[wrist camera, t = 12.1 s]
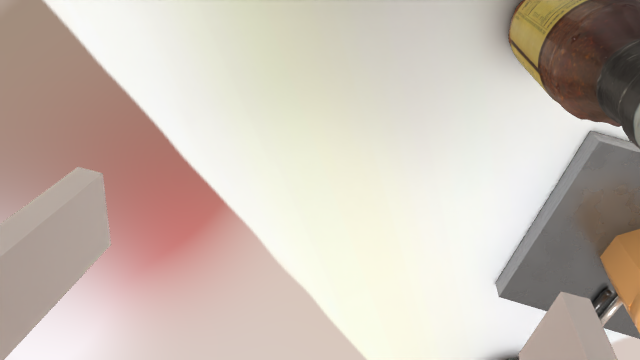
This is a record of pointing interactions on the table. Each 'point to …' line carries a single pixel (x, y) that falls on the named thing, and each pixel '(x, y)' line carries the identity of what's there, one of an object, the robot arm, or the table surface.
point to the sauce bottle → (584, 56)
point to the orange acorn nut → (625, 271)
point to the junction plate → (580, 233)
